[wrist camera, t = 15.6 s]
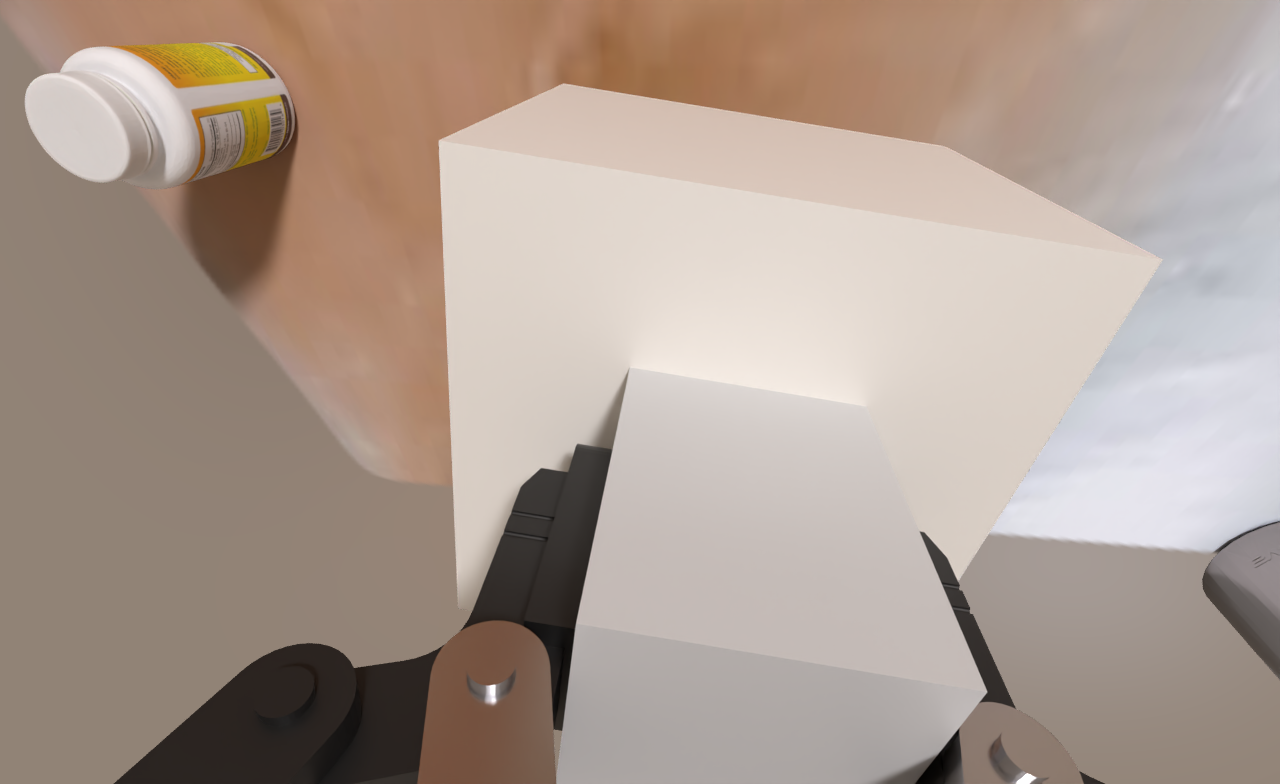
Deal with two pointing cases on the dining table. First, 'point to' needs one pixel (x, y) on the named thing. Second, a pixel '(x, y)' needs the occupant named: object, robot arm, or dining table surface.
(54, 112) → the supplement bottle
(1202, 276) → the dining table surface
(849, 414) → the white block with stub
